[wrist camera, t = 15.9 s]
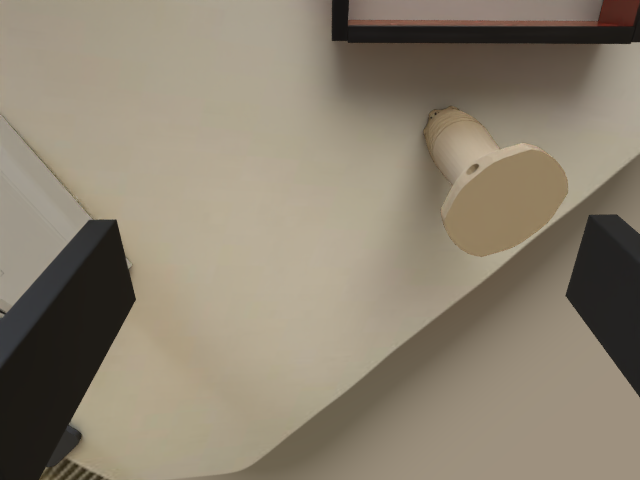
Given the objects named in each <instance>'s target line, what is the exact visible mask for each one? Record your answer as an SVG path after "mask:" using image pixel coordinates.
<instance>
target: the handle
mask: <svg viewBox="0 0 640 480" xmlns="http://www.w3.org/2000/svg"><path fill="white" fill-rule="evenodd" d="M424 136H425V139H426V142H427V147H428V150H429V153H430V155H431V157H432V159H433V161H434V163H435V165H436V166H437V167H438V169H439V170H440V171H441V172H442V174H443V175H444V176H445V177H446V179H447V180H448V181H449V182H450V183H451V185H452V188H451V189H450V191H449V193H448V195H447V197H446V199H445V201H444V203H443V206H442V208H441V217H442V221H443V225H444V227H445V229H446V231H447V233H448V235H449V237H450V239H451V240H452V241H453V242H454V243H455V245H457V246H458V247H459V248H460V249H461V250H463V251H465V252H467V253H468V254H471V255H475V256H480V257H483V256H486V255H490V254H494V253H497V252H501V251H504V250H507V249H510V248H512V247H515V246H516V245H518V244H520V243H521V242H523V241H525V240H526V239H527V238H529V237H530V236H531V235H533V234H534V233H536V232H537V231H538V230H540V229H541V228H542V227H543V226H544V225H545V224H547V223H548V221H549V220H550V219H551V218H552V217H553V215H554V214H555V212H556V211H557V209H558V208H559V206H560V205H561V203H562V202H563V200H564V198H565V197H566V195H567V194H568V180H567V177H566V174H565V172H564V170H563V169H562V167H561V166H560V164H559V163H558V162H557V161H556V160H555V159H554V158H553V157H551V156H550V155H549V154H548V153H546V152H545V151H543V150H542V149H540V148H539V147H537V146H534V145H531V144H526V143H521V144H517V145H513V146H509V147H506V148H503V149H500V148H499V147H498V145H497V144H496V142H495V141H494V140H493V138H492V137H491V135H490V134H489V133H488V131H487V130H486V129H485V128H484V126H482V124H480V123H479V122H478V121H477V120H476V119H475V118H473V117H472V116H470V115H468V114H466V113H464V112H462V111H460V110H459V109H458V108H456V107H453V106H449V107H448V108H446V109H443V110H433V111H432V112H431V113H430V114H429V121H428V124H427V126H426V128H425V129H424Z"/></svg>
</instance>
